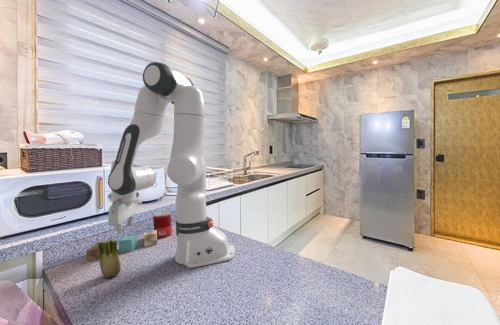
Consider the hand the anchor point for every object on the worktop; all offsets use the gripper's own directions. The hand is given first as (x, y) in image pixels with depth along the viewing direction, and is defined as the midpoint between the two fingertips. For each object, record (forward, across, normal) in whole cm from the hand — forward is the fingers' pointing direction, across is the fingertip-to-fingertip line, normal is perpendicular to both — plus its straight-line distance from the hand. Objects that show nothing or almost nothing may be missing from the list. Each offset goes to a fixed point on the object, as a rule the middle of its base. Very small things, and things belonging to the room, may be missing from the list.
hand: (125, 229), depth 93 cm
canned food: (+8, +13, -12) cm, 19 cm away
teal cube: (+9, 0, -1) cm, 9 cm away
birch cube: (+8, +4, -9) cm, 13 cm away
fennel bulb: (+9, -21, -4) cm, 23 cm away
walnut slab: (+9, -3, +8) cm, 13 cm away
